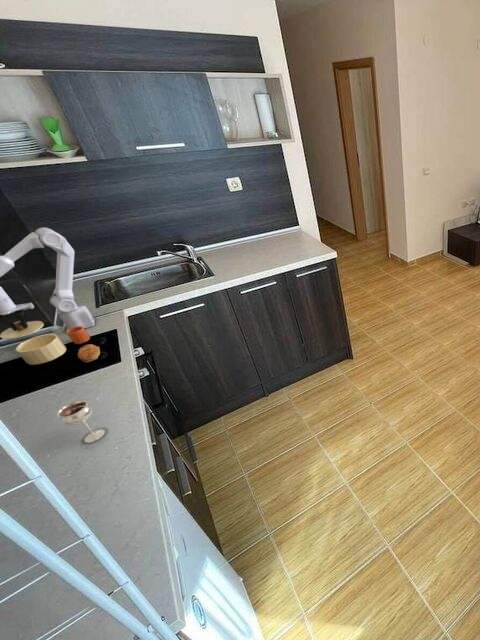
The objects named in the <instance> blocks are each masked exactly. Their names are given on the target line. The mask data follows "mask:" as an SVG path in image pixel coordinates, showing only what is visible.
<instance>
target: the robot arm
mask: <svg viewBox="0 0 480 640" xmlns="http://www.w3.org/2000/svg"><path fill="white" fill-rule="evenodd" d="M45 246H46V247H49V248H51V249H52V250H54V251H55V252H56V271H55V286H54V287H55V288H54V290H53V294H52V295H51V296H50V298H49V303H50V304H51V305H52V306H54V308H55V309H56V314H57V315H58V316H59V318H60V320H61V321H62V322H63V324H64V326H66V332H67V331H68V330H69V329H71V328H74V327H78V326H82V327H83V328H84V329H88V328H91V327H95V318H94V317H93V315H92V314H91V312H90V311H89V309H88V307H87V306H86V305H78V304H77V303H76V301H75V299H74V298H75V296H74V292H73V283H74V282H73V280H74V267H75V249H74V248H73V246H71V244H70V243H69V242H68V240H67V239H66V237H65V236H63V235H61V234H60V233H58V232H56V231H54V230H53V229H51V228H49V227H39V228H37V229H36V230H35V231H33V232H30V233H29V234H28V235H26V236H25V237H24V238H23V239H22V240H20V241H19V242H18V243H17V244H16V245H14V246H13V247H12V248H11V249H10V250H8V251H7V252H6V253H5V254H4V255H0V278H2V277H3V276H4V275H5V274H7V273H8V272H9V271H10V270H12V269H13V268H15V262H16V261H17V260H19V259H20V258H22V257H23V256H25V255H26V254H27V253H29V252H30V251H33V249H42V248H45ZM29 309H30V310H33V309H35V305H34V303H33V302H28V303H20V304H15V302H14V301H13V300H12V299H11V298H10V296H9V295H8V294H7V292H6V291H5V290H4V288H3V287H2V286H0V323H1V324H3V325H5V326H6V327H9V328H11V329H13V330H14V331H16V330H17V329H16V328H15V327H14V325H13V324H12V323H14V322H13V321H12V320H11V318H10V317H9V315H10V314H13V313H14V314H13V316H14V317H15V318H16V319H17V321H20V322H21V323H22V325H23V326H24V327H25V328H28V325H27V322H28V321H27V319H26V312H25V311H26V310H29Z"/></svg>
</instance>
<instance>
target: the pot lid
mask: <svg viewBox="0 0 480 640" xmlns="http://www.w3.org/2000/svg"><path fill="white" fill-rule="evenodd" d="M26 322H27V325H28V328H25V327H24V326H23V325H22V323H21V322H20V321H19V320H17V321H14V322H13V323H12V324H13V325H14V327H15V328H16V329H17V330H16V331H14V330H13V329H11V328H10V327H9V328H7V329H5V330H4V331H2V332H1V333H0V338H1V339H2V340H13V339H14V340H15V339H19V338H22V337H25V336H28V335H31V334H33V333H35V332H38V331H39V330H41V329H42V328H43V327H44V325H45V324H44V322H43V321H40V320H32V321H26Z"/></svg>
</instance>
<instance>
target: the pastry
mask: <svg viewBox="0 0 480 640" xmlns="http://www.w3.org/2000/svg"><path fill="white" fill-rule="evenodd" d="M100 355H101V350H100V346H97V345H95V344H91V343H90V344H85V345H82V347H80V348H79V349H78V353H77V358H78V359H80V361H82V362H84V363H85V364H86V363H91V362H93V361H95V360H97V359H98V358H99V356H100Z"/></svg>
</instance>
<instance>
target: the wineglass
mask: <svg viewBox="0 0 480 640" xmlns="http://www.w3.org/2000/svg"><path fill="white" fill-rule="evenodd" d="M92 414H93V408H92V406H91V405H90V404H88V401H87V400H84V399H82V400H81V399H80V400H75V401H71V402H70V403H67V404H66V405H64V406H63V407H61V408H60V409H59V410H58V411H57V412H56V416H57V417H58V418H59V419H60V421H61V422H62V423H63V424H65V425H68V426H76V425H80V424H82V425H83V426H84V427H85V428H86V430H87V431H88V432H90V433H88V434H87V435H85V437H84V438H83V439H84V443H88V444H89V443H94V442H95V441H98V440H100V439H101V438H102V437H103V436H104V435H105V434H106V430H105V429H101V428H100V429H96V430H92V429H91V427H90V426H89V425H88V423H87V422H86V421H88V420H89V419H90V418H91V416H92Z"/></svg>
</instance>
